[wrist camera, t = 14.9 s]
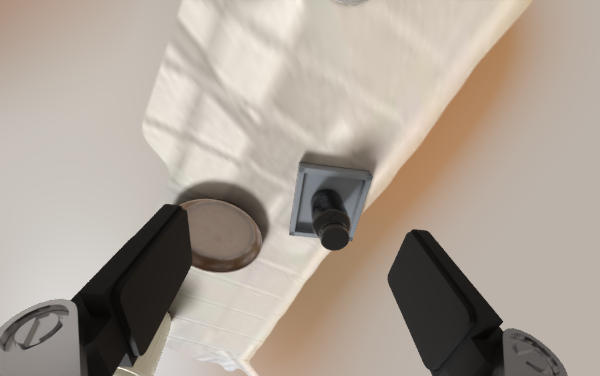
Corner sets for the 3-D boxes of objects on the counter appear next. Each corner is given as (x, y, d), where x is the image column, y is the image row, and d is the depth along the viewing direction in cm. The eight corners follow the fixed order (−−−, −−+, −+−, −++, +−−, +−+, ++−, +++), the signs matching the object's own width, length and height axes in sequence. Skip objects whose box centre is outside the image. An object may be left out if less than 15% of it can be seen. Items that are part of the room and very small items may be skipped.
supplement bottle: (348, 201, 47) (364, 240, 37) (324, 220, 49) (333, 262, 39) (327, 181, 45) (337, 215, 34) (302, 202, 47) (305, 240, 36)
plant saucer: (227, 275, 58) (224, 286, 55) (153, 231, 51) (144, 241, 48) (282, 229, 51) (281, 239, 48) (205, 171, 44) (199, 179, 41)
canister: (154, 284, 58) (88, 385, 40) (195, 322, 66) (156, 421, 48) (100, 303, 61) (15, 404, 43) (145, 337, 69) (90, 435, 51)
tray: (299, 162, 43) (299, 167, 41) (368, 170, 45) (372, 176, 42) (289, 227, 51) (289, 235, 49) (349, 233, 52) (351, 241, 50)
